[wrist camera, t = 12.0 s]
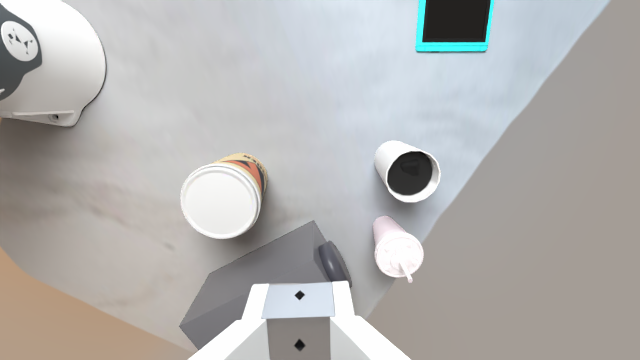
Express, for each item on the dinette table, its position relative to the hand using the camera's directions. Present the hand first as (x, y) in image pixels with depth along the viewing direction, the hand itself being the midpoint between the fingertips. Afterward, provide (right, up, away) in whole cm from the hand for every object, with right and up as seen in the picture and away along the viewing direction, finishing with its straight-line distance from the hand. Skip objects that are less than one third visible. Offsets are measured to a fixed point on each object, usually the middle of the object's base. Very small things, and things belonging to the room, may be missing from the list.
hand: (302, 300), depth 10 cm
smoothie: (+11, -4, +40) cm, 41 cm away
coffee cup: (-11, +4, +37) cm, 39 cm away
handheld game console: (+19, +29, +31) cm, 47 cm away
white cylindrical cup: (+12, +7, +37) cm, 39 cm away
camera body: (-7, -11, +41) cm, 44 cm away
